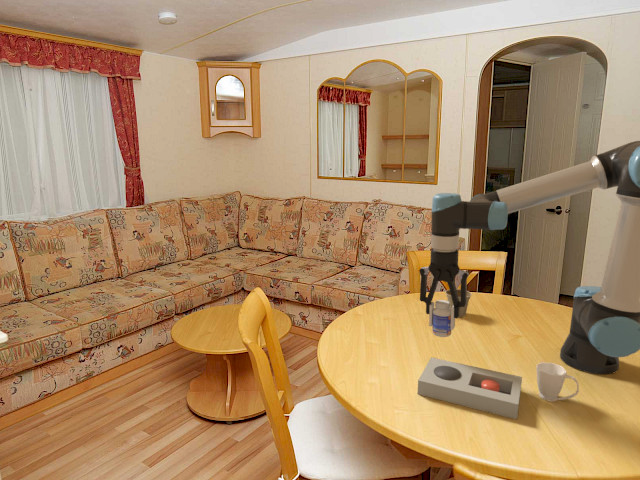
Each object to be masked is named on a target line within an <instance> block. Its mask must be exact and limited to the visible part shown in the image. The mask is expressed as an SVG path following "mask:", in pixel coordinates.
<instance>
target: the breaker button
mask: <svg viewBox="0 0 640 480" xmlns="http://www.w3.org/2000/svg"><path fill="white" fill-rule="evenodd" d="M481 388H483V389H487V390H492V391H496V392H499V389H500V385H499V383H497V382H495V381H493V380H483V381H482V384H481Z"/></svg>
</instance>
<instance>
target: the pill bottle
mask: <svg viewBox="0 0 640 480" xmlns="http://www.w3.org/2000/svg"><path fill="white" fill-rule="evenodd" d="M449 307H450V303H449V302H448V300H444V299H438V300H435V302H434V309H433V325H432V326H431V327H432V329H431V330H432V331H431V332H432V334H433V335H434V336H436V337H438V338H439V337H440V338H447V337H448V338H449V337H451V335H452V330H450V326H451V309H449Z"/></svg>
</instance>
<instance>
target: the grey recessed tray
mask: <svg viewBox="0 0 640 480" xmlns="http://www.w3.org/2000/svg"><path fill="white" fill-rule="evenodd" d="M522 379H523V376H520V375H516V374H510V373H506V372H501V371H496V370H492V369H487V368H482V367H478V366H473V365H469V364H465V363H460V362H454V361H450V360H445V359H440V358H436V357H431V356H430V359H429V361H428V362H427V364H426V366H425V368H424V369H423V371H422V373H421V375H420V376H419V378H418V381H417V395H418V396H419V395H420V396H424V397H428V398H431V399H436V400H439V401H443V402H447V403H451V404H454V405H458V406H463V407H467V408H471V409H475V410H478V411H482V412H487V413H490V414H494V415H498V416H502V417H505V418H510V419H514V420H517V419H518V413H519V407H520V406H519V405H520V398H521V392H522V391H521V390H522V381H523V380H522ZM483 380H493V381H495V382H497V383H499V385H500V389H499V392H496V391H492V390H487V389H483V388H481V384H482V381H483Z"/></svg>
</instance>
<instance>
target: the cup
mask: <svg viewBox="0 0 640 480" xmlns="http://www.w3.org/2000/svg"><path fill="white" fill-rule="evenodd" d="M535 367H536V382H537V389H538V396H539V397H540V399H542V400H544V401H547V402H556V401H565V400H569V399H572V398H574V397H575V396H577V395H578V393H579V382H578V380H577V379H576V377H575V376H573V375H569V374H568V372H567V370H566V369H565V367H563V366H562V365H560V364H557V363H553V362H543V361H542V362H540V363H538V364H536V365H535ZM565 379H571V380H573V381H574V382H575V384H576V391H575V393H572V394H570V395H567V396H563V397H558V396H559V395H560V393H561V390H562V389H563V385H564V383H565Z"/></svg>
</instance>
